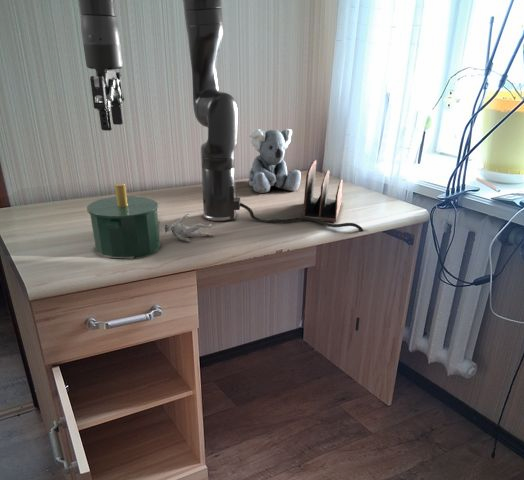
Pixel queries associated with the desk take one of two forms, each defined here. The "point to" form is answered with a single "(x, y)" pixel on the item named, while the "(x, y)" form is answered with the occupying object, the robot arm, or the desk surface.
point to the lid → (122, 205)
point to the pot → (126, 236)
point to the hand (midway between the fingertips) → (112, 127)
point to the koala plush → (272, 162)
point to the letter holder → (321, 198)
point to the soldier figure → (186, 229)
